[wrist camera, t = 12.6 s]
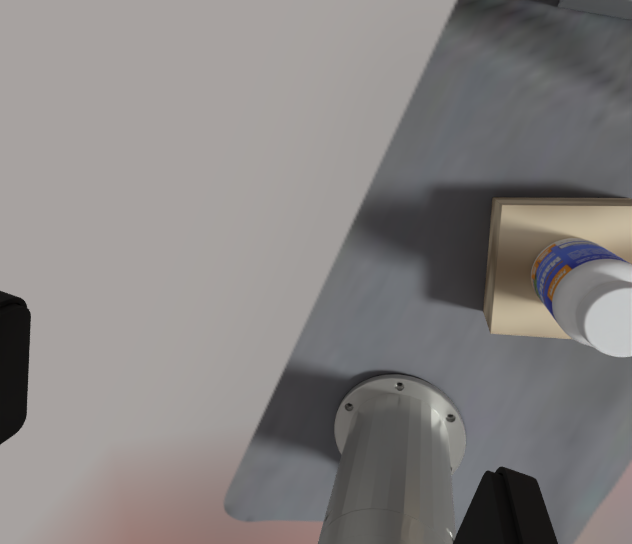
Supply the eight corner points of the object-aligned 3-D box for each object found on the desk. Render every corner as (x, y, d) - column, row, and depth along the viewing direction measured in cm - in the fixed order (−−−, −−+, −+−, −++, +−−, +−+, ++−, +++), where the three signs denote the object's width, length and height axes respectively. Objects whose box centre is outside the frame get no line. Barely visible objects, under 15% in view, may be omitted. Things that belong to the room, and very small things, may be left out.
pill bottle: (529, 239, 33) (568, 275, 24) (613, 234, 32) (687, 270, 23) (529, 309, 35) (565, 369, 26) (609, 307, 33) (678, 369, 24)
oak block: (609, 318, 38) (635, 343, 34) (483, 311, 40) (490, 333, 36) (629, 198, 36) (659, 206, 31) (492, 197, 38) (502, 205, 33)
